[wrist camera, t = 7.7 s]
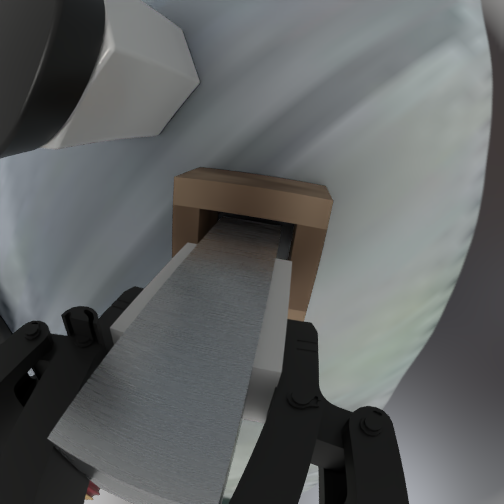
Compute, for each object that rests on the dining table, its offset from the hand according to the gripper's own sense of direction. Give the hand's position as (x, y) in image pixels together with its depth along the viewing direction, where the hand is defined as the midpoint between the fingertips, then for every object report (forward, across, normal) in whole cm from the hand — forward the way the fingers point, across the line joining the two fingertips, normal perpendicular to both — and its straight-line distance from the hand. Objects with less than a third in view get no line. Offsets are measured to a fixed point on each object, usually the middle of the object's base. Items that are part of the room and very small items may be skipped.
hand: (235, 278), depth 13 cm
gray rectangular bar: (+4, 0, 0) cm, 4 cm away
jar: (+6, +9, -10) cm, 15 cm away
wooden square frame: (+6, 0, 0) cm, 6 cm away
